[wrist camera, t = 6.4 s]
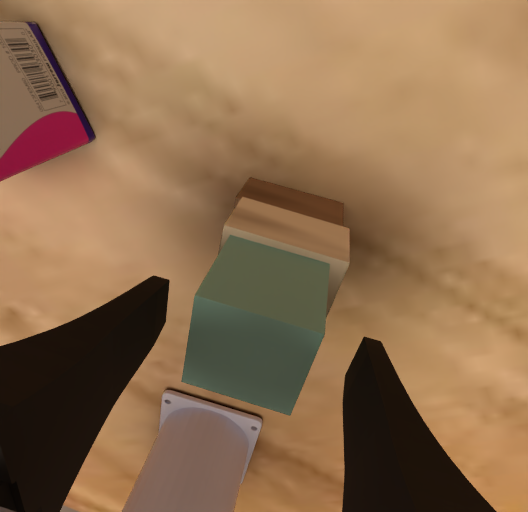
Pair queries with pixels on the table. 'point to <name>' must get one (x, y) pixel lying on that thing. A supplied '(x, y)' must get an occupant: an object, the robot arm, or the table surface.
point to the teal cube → (257, 324)
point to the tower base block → (292, 200)
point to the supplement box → (34, 102)
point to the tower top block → (292, 236)
